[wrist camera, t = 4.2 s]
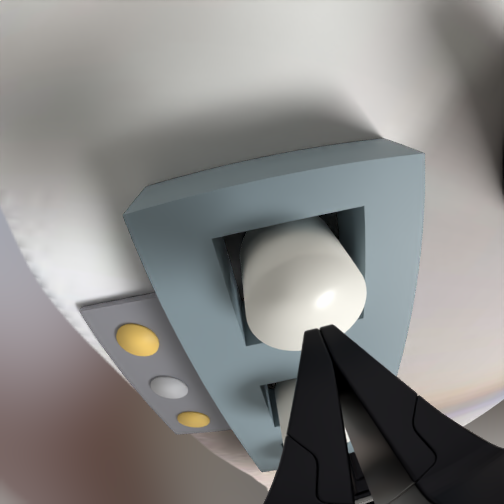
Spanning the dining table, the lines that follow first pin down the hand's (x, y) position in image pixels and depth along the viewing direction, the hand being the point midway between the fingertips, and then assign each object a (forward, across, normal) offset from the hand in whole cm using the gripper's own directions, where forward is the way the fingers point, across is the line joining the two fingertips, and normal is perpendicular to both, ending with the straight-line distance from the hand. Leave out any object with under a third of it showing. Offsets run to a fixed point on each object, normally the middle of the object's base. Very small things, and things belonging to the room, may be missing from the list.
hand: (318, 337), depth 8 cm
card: (+6, +8, +8) cm, 13 cm away
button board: (+6, 0, +8) cm, 10 cm away
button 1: (+5, 0, 0) cm, 5 cm away
